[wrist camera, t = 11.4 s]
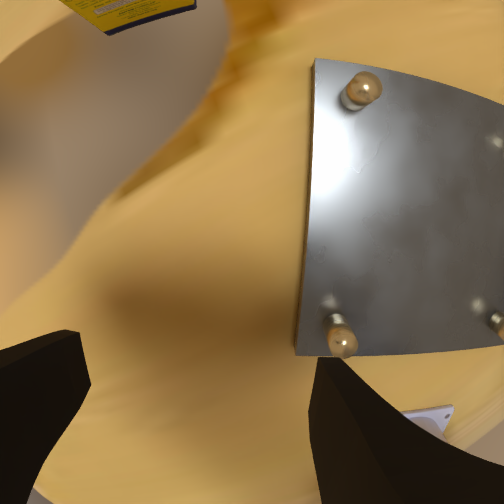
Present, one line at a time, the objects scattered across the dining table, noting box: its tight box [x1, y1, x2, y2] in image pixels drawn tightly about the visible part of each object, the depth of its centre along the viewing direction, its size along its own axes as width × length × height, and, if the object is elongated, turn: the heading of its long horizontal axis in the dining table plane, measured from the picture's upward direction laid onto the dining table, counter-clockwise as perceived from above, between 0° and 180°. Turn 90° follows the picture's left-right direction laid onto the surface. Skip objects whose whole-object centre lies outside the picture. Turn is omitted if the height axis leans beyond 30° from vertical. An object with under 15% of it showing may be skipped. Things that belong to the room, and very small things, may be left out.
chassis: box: [294, 58, 504, 359], centre depth 14 cm, size 16×16×4 cm
